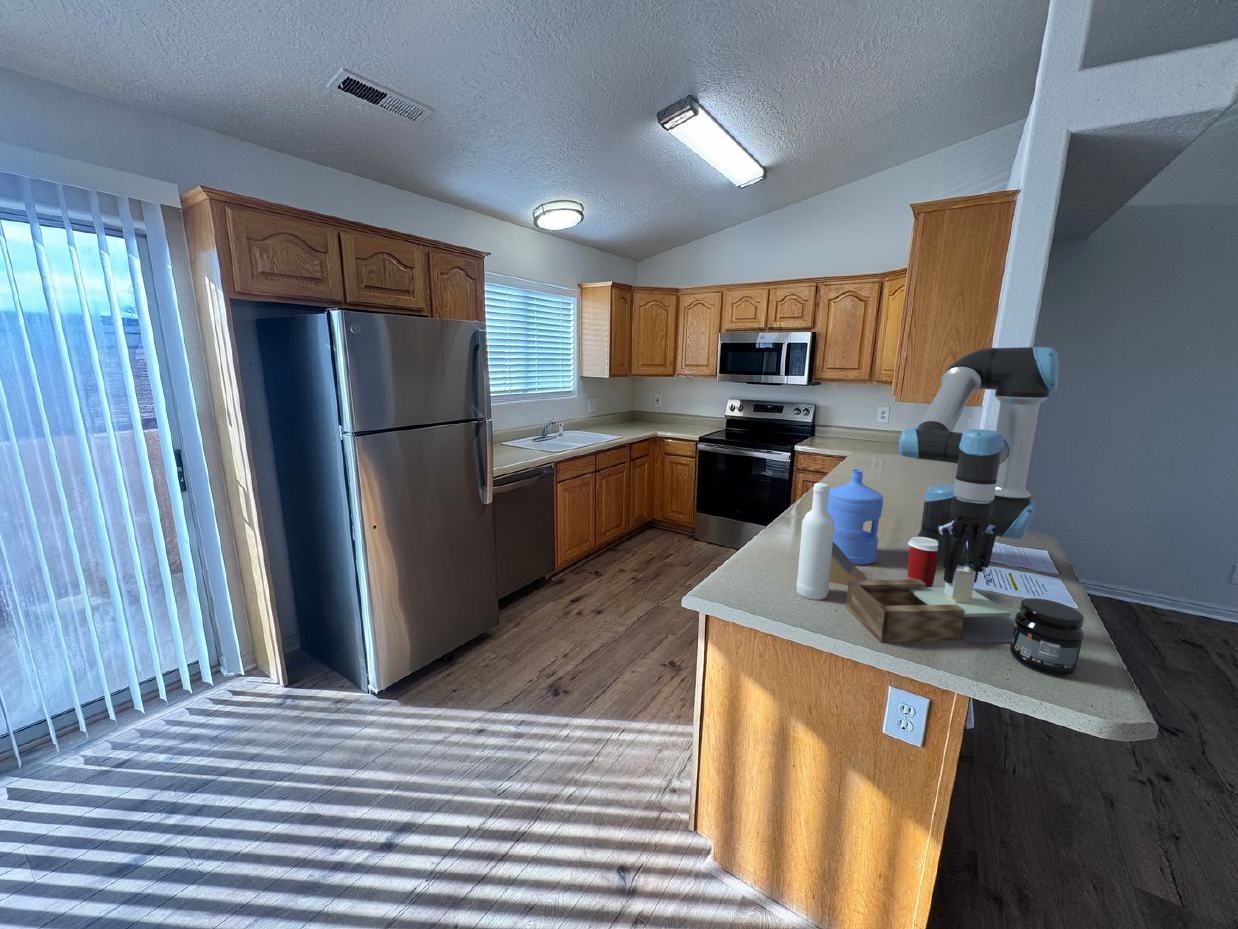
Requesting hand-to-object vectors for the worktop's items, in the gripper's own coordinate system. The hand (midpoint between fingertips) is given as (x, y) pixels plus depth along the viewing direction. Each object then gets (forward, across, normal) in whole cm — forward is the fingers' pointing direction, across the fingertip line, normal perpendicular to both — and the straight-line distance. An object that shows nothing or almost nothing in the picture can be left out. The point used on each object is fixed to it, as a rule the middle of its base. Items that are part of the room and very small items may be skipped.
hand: (957, 594), depth 114 cm
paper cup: (+7, -2, -17) cm, 18 cm away
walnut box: (+7, +13, 0) cm, 15 cm away
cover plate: (+2, 0, 0) cm, 2 cm away
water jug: (+7, +5, -41) cm, 42 cm away
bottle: (+7, +28, -16) cm, 32 cm away
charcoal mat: (+7, -6, 0) cm, 9 cm away
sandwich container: (+7, +16, -25) cm, 31 cm away
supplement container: (+7, -7, +16) cm, 19 cm away
